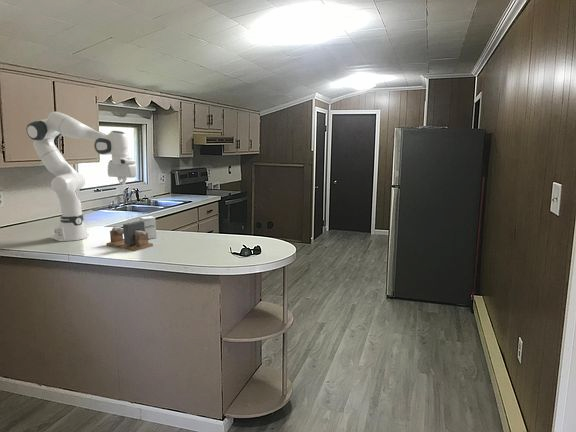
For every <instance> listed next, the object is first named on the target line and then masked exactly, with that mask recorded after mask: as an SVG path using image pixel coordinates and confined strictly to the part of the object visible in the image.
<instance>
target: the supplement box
mask: <svg viewBox="0 0 576 432" xmlns="http://www.w3.org/2000/svg"><path fill="white" fill-rule="evenodd" d="M139 221H144V226H145V233H148V240H151V239H152V240H153V239H157V238H158V237H157V223H156V217H155V216H152V215H149V216H142V217H141V216H140V217H139Z"/></svg>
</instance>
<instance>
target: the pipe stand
mask: <svg viewBox="0 0 576 432" xmlns="http://www.w3.org/2000/svg"><path fill="white" fill-rule="evenodd" d="M109 235H110V242H106V244H105V245H106V246H107V247H111V248H118V249H124V250H127V249H128V250H127V251H132V252H133V251H134V252H135V251H136V252H138V251H140V250H143V249H144V250H145V249H147V248H151V247H154V243H152V242H149V239H148V233H145V232H144V231H138V230H134V236H135V239H136V244H132V245H126V244H125V243H124V231H123V227H115V226H114V227H112V229H111V230H109Z"/></svg>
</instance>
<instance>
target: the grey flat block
mask: <svg viewBox="0 0 576 432" xmlns="http://www.w3.org/2000/svg"><path fill="white" fill-rule="evenodd" d="M122 228H123V231H124V234H123V239H124V243H125V244H126V245H132V244H136V239H135V236H134V230H138V231H144V232H145V226H144V221H140V220H137V221H133V222H126V223H123V224H122Z"/></svg>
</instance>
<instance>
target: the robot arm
mask: <svg viewBox="0 0 576 432" xmlns="http://www.w3.org/2000/svg"><path fill="white" fill-rule="evenodd" d="M25 130H26V131H25V132H26V133H27V137H29V139H31V140H33V145H32V146H33V148H34V150H35V152H36V155H37V156H38V158H39V159H40V160H41V162H42V164H43V165H44V167H45V168H46V170H47V171H48V172H49V173H51V174H53V175H54V176H55V177H54V178H53V179H52V180H51V182H50V187H51V189H52V190H53V191H54V192H55V194H56V196H57V198H58V201H59V205H60V211H61V216H60V217H59V219H60V222H59V223H58V224H57V225H56V227H55V228H54V234H53V235H51V236H50V239H51V240H56V241H58V242H71V241H78V240H84V239H87V238H88V237H89V235H90V234H89V233H88V231H87V226H86V222H85V221H84V214H83V210H82V209H83V208H82V202H81V199H79V197H78V196H77V192H76V191H79V190H81V189H83V187H84V186H85V184H86V180H85V177H84V176H83V175H82V174H81V173H79V172H78V171H76V170H75V169H74V168H73V167H72V166H71V164H69V163H68V162H67V160H66V159H65V158H64V156H63V155H62V153H61V151H60V150H59V148H58V147H57V146H56V143H55V141H57V140H58V139H59V138H60V137H61V136H64V137H67V138H70V139H79V140H88V141H93V142H94V144H93V145H94V146H93V147H94V150H95V152H96V153H97V154H99V155H102V156H103V155H106V156H107V155H111V159H110V160H109V162H108V164H107V176H108V177H109V178H110V177H111V178H117V180H118V182H119V185H120V186H126V185H127V183H126V181H127V180H128V178H131V179H132V178H136V176H137V167H136V160H135V159H134V158H132V157H131V156H130V155H129V152H128V148H129V145H128V144H129V143H128V139H127V138H128V137H127V135H126V133H125V132H124V131H120V130H112V131H110V132H109V133H108V134H105V133H103V132H101V131H99V130H97V129H94V128H92V127H90V126H88V125H87V124H84V123H83V122H81V121H79V120H77V119H76V118H74V117H72V116H70V115H68V114H66V113H63V112H60V111H52V112H50V113H49V114H48V116H47V118H44V119H43V118H42V119H39V120H35V121H34V120H33V121H32V122H30V123H28V124H27V126H26V129H25Z"/></svg>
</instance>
